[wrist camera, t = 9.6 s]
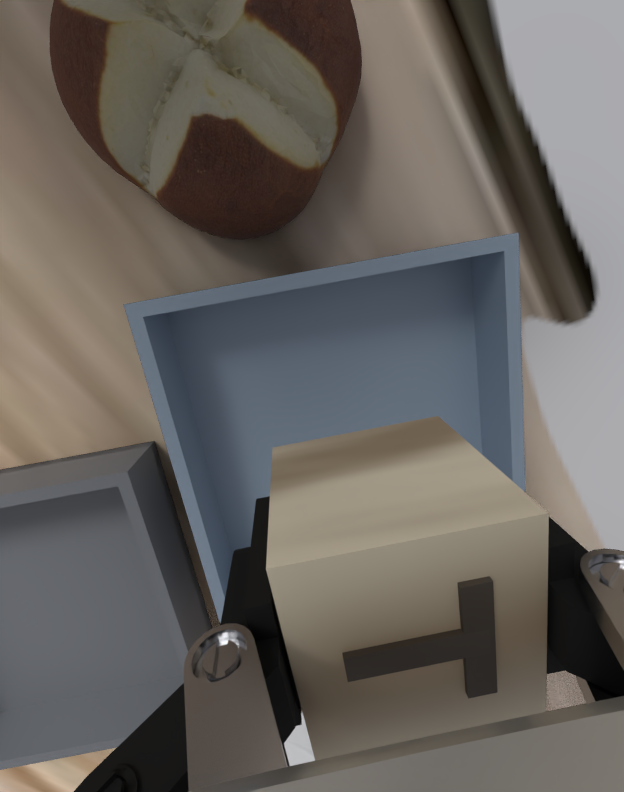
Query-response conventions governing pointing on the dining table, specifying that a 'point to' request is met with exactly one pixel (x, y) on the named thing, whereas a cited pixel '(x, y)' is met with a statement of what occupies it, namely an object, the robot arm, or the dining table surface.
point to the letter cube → (406, 585)
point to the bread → (211, 99)
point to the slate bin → (329, 371)
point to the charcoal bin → (90, 602)
